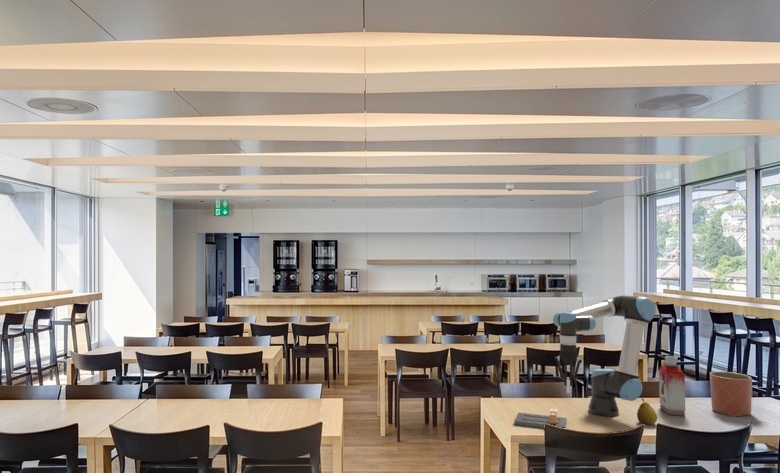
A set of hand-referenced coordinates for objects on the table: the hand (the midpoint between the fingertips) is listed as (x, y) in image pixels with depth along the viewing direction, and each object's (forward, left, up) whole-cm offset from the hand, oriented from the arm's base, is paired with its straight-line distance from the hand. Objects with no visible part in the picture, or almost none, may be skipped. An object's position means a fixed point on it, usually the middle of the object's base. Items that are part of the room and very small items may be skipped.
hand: (568, 392), depth 246 cm
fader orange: (+7, 0, -15) cm, 17 cm away
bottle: (-52, -51, -18) cm, 75 cm away
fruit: (-37, -24, -18) cm, 47 cm away
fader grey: (+7, -7, -15) cm, 18 cm away
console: (+13, -4, -18) cm, 22 cm away
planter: (-82, -63, -18) cm, 105 cm away
